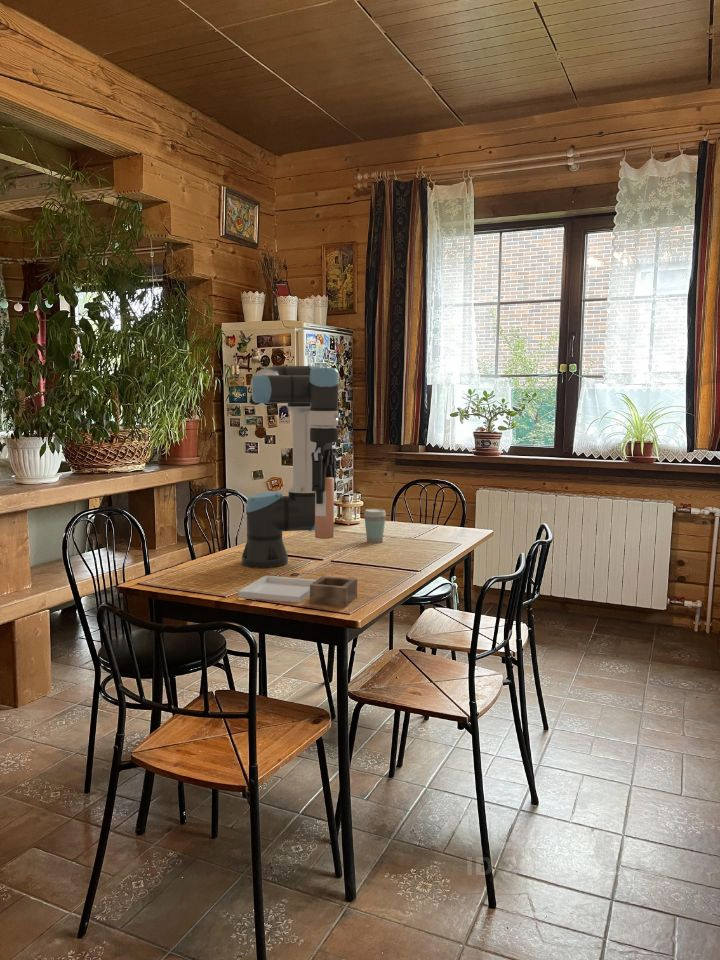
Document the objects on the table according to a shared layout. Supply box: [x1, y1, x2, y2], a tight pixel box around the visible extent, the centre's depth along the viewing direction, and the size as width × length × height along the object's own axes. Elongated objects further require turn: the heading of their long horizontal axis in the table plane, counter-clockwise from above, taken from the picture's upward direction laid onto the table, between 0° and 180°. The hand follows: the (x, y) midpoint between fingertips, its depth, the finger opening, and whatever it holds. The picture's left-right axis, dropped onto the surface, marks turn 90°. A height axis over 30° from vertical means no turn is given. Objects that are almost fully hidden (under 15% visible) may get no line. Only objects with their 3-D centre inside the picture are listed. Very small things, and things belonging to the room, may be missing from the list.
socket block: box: [309, 575, 358, 608], centre depth 198 cm, size 10×10×6 cm
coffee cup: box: [363, 508, 387, 544], centre depth 279 cm, size 9×8×12 cm
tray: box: [237, 575, 317, 603], centre depth 207 cm, size 18×18×2 cm
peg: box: [314, 477, 335, 540], centre depth 197 cm, size 5×5×16 cm
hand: (324, 513), depth 198 cm, fingers closed on peg, 5 cm apart
